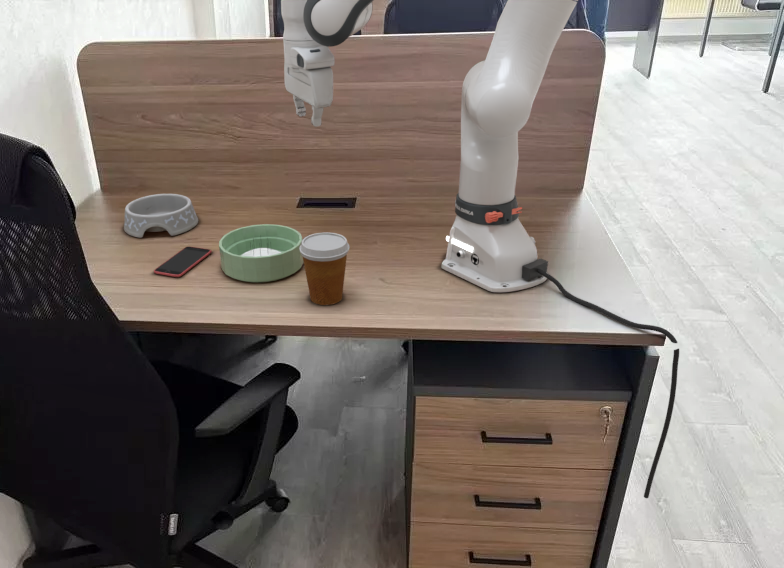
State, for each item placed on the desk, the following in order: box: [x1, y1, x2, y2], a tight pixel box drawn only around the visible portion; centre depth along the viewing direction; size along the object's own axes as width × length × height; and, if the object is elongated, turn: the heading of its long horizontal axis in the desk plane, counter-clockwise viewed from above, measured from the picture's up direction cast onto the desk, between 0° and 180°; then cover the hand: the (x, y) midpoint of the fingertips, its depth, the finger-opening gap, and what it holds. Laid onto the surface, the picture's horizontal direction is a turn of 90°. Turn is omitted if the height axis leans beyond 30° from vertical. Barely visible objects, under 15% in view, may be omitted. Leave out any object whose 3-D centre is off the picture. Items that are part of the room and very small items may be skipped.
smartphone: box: [153, 245, 212, 278], centre depth 160 cm, size 7×1×14 cm
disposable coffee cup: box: [299, 231, 351, 306], centre depth 139 cm, size 10×10×12 cm
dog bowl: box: [123, 193, 199, 238], centre depth 179 cm, size 17×18×5 cm
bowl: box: [218, 223, 304, 283], centre depth 155 cm, size 18×18×6 cm
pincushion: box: [241, 235, 281, 257], centre depth 155 cm, size 12×6×6 cm, turn 91°
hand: (308, 120), depth 157 cm, fingers open, 8 cm apart
